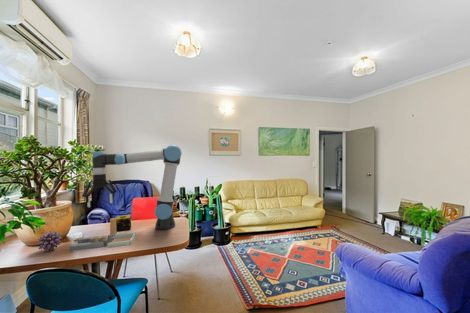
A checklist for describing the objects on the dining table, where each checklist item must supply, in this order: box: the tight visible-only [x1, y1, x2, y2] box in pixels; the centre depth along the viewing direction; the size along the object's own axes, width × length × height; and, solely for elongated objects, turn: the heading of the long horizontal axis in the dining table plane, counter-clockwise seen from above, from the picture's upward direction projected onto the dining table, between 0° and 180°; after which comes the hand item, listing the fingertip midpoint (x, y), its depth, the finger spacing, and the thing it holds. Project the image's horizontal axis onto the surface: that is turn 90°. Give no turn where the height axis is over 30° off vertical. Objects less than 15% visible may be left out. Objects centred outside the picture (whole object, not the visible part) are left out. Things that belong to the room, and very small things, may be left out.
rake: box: [109, 217, 118, 239], centre depth 146 cm, size 3×6×13 cm, turn 16°
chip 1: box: [91, 235, 101, 242], centre depth 133 cm, size 4×4×4 cm
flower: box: [36, 230, 64, 253], centre depth 126 cm, size 12×12×12 cm
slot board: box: [69, 234, 115, 252], centre depth 132 cm, size 20×14×4 cm
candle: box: [115, 214, 132, 233], centre depth 162 cm, size 10×10×10 cm
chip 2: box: [99, 234, 108, 244], centre depth 134 cm, size 4×4×4 cm
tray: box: [107, 232, 137, 248], centre depth 137 cm, size 13×16×3 cm
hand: (100, 204), depth 144 cm, fingers open, 13 cm apart
